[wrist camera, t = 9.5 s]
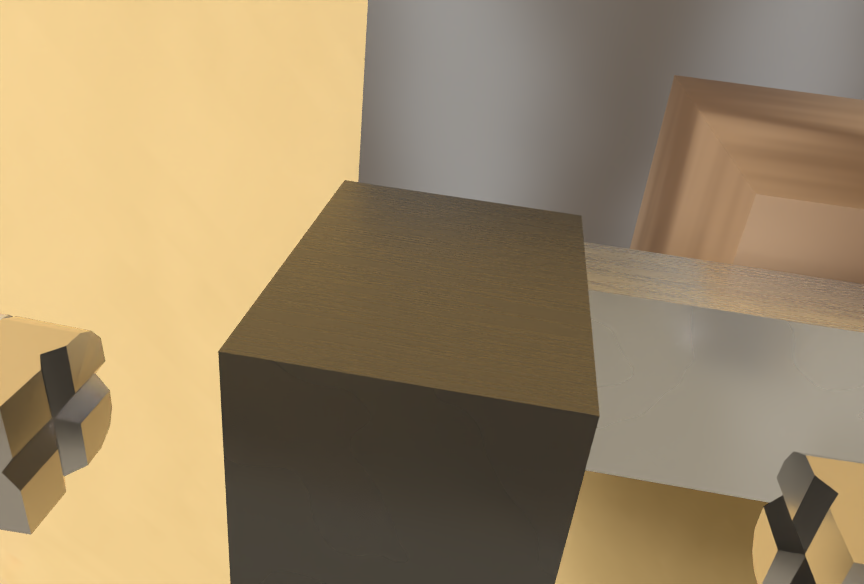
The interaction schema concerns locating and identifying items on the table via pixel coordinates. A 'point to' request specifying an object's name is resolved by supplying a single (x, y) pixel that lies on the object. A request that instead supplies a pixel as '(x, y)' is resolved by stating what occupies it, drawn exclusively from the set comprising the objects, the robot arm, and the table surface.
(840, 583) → the robot arm
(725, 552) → the table surface
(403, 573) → the steel shaft
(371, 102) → the shaft stand
